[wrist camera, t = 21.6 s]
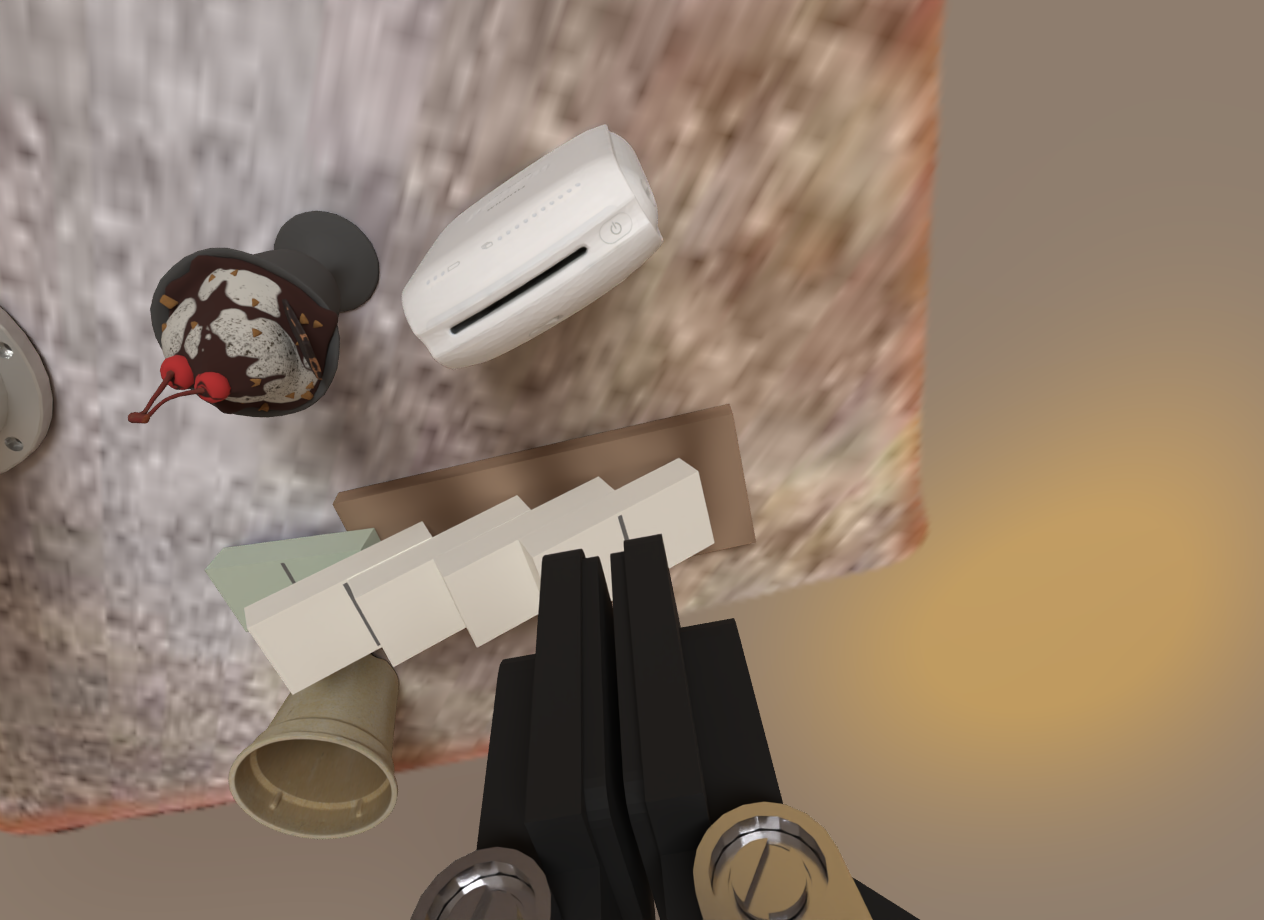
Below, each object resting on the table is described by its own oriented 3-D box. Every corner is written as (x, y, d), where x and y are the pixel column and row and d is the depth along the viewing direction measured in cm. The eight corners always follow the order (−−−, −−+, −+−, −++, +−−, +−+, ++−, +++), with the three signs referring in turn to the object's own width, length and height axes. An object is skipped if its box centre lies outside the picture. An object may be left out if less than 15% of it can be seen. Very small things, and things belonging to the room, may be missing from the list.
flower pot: (362, 605, 48) (321, 714, 40) (452, 692, 52) (429, 805, 45) (250, 662, 50) (191, 776, 42) (345, 741, 54) (307, 857, 47)
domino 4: (695, 527, 44) (546, 609, 41) (678, 457, 42) (518, 539, 39) (714, 543, 43) (560, 629, 40) (698, 471, 40) (532, 557, 37)
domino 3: (619, 544, 45) (466, 627, 42) (598, 476, 42) (433, 558, 39) (635, 560, 43) (477, 648, 40) (614, 490, 41) (443, 577, 37)
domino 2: (542, 561, 45) (385, 646, 42) (516, 494, 43) (347, 579, 39) (556, 578, 43) (393, 667, 40) (530, 509, 41) (354, 598, 38)
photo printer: (612, 105, 34) (622, 146, 23) (659, 190, 36) (689, 264, 25) (429, 227, 36) (363, 315, 25) (483, 300, 38) (442, 411, 27)
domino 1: (452, 586, 45) (288, 672, 42) (422, 520, 42) (243, 607, 39) (463, 603, 43) (292, 695, 40) (431, 536, 41) (246, 628, 38)
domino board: (398, 606, 48) (394, 619, 47) (338, 492, 43) (332, 504, 42) (752, 530, 46) (756, 542, 45) (729, 403, 42) (732, 413, 41)
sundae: (236, 285, 37) (47, 430, 24) (285, 163, 34) (102, 253, 21) (363, 351, 39) (253, 517, 26) (419, 241, 36) (326, 365, 23)
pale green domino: (406, 592, 45) (263, 608, 47) (374, 527, 43) (223, 547, 45) (394, 616, 44) (246, 632, 46) (360, 550, 41) (204, 570, 43)
